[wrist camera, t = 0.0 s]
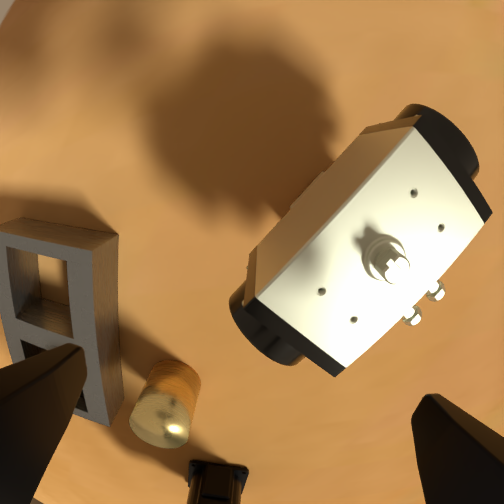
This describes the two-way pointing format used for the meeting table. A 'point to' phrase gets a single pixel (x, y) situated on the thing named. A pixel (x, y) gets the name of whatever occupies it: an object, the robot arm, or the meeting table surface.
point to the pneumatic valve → (363, 243)
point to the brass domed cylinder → (166, 405)
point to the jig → (61, 316)
